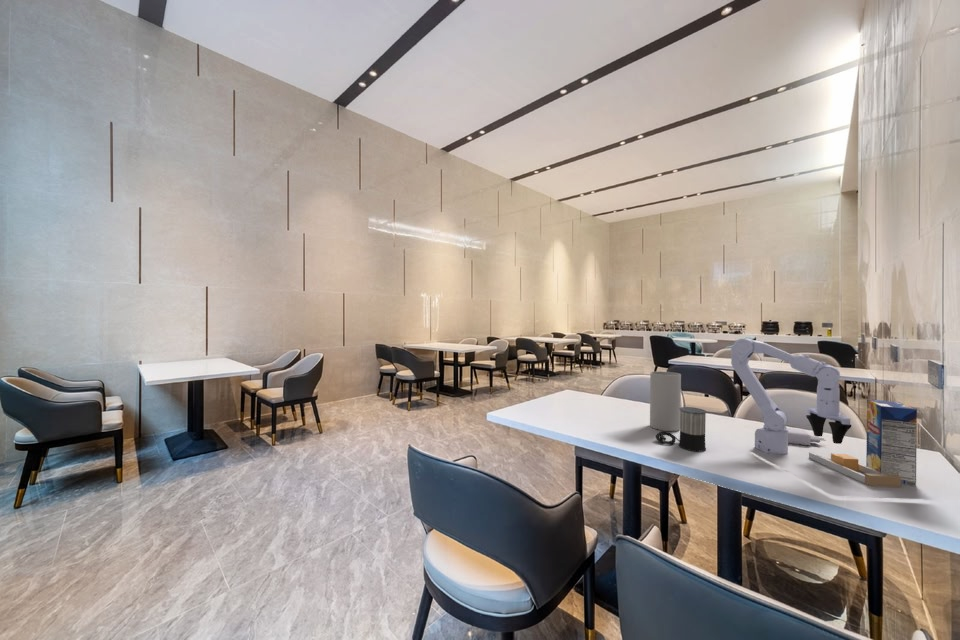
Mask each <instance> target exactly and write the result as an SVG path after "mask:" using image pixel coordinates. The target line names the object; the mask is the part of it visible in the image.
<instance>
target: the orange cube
mask: <svg viewBox="0 0 960 640" xmlns="http://www.w3.org/2000/svg"><path fill="white" fill-rule="evenodd" d="M830 459H831V461H833V462H835V463H837V464H840V465H842V466H844V467H846V468H849V469H851V470H853V471H856V472H858V463H859V458H856V457H854V456H851V455H848V454H846V453H835V454H831V453H830Z"/></svg>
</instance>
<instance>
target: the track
mask: <svg viewBox="0 0 960 640" xmlns="http://www.w3.org/2000/svg"><path fill="white" fill-rule="evenodd" d="M831 454H836V453H835V452H831V453H830V455H831ZM808 459H810V460H813V461H815V462H817V463H819V464H821V465H822V466H823V465H824V466H825V467H828V468H829V469H832V470H834V471H837V472H838V473H841V474H842V475H845V476H846V477H850V478H851V479H854V480H855V481H858V482H860V483H862V484H864V485H867V486H869V487H887V488H890V487H891V488H901V483H900V479H901V477H900V476H897V475H892V474H882V473H879V472H878V471H876V470H874V469H871V468H869V467H866V465H864V464H861V463H859V462H858V472H856V471H853V470H851V469H849V468H846V467H844V466H842V465H840V464H837V463H835V462H833V461H831V458H829V457H827V458H826V457H823V456H822V455H819V454H816V453H814V452H812V451H811V452H810V451H809V452H808Z"/></svg>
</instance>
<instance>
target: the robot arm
mask: <svg viewBox="0 0 960 640" xmlns="http://www.w3.org/2000/svg"><path fill="white" fill-rule="evenodd" d="M730 350H731V351H730V352H731V357H730V358H731V359H730V360H731V361H730V362H731V363H730V364H731V366H732V368H733V370H734V371H735V373H736V374H737V376H738V377H739V379H740V380H741V382H742V383H743V385H744V387H745V388H746V390H747V391H748V392H749V394H750V396H751V397H752V399H753V400H754V402H755V404H757V407H758V410H759V413H760V415H761V416H762V421H763V427H762V428H757V429H756V430H755V431H754V448H756V449H757V450H759V451H762V452H763V453H766V454H767V453H768V454H780V455H783V454H784V455H786V454H788V453H789V452H788V451H789V443H788V429H787V428H788V427H787V426H786V424H788V422H789V416H788V415H787V413H786V412H785V411H783V410H782V409H780V408H779V406H778V404H776V403H775V402H774V401H773V400H772V399H771V397H770V395H769V393H768V392H767V391H766V389H765V388H764V386H763V384H762V383H761V381H759V379H758V378H757V376H756V374H755V373H754V372H753V370H752V368H751V366H750V365H749V361H750V359H751V356H752V355H753V354H754V355H755V354H757V355H758V354H765V355H768V356H770V357H773V358H776V359H778V360H781V361H783V362H786V363H789V364H790V367H791V369H793V370H795V371H799V373H803V374H805V375H808V376H810V377H812V378H813V377H816V379H817V387H816V408H814V407H808V408H807V415H806V416H805V417H806V418H807V420H808V422H809V424H810V426H811V429H812V433H813V435H814V436H818V437H823V434H824V426H825V423H826V420H827V419H828V420H831V421H828V425H829V426H830V430H831V435H832V437H831V439H832V442H833V444H840V445H842V442H843V441H844V438H845V435H846V434H847V432H848V431H849V430H850V429H851V428H852V424H851V418H849V417H847V416H844V415H843V413H840V399H841V398H840V397H841V396H840V395H841V394H840V393H841V391H840V390H841V389H840V382H839V380H840V379H841V373H840V370H839V369H838V368H837V367H835V366H833V365H832V364H827V362H825V361H819V360H817V359H813V358H811V357H810V355H808V354H801V353H800V354H799V353H798V354H796V355H794V354H792V353H789V352H787V351H785V350H782V349H780V348H777V347H775V346H773V345H770V344H768V343H766V342H763V341H760V340H757V339H756V340H754V339H752V338H749V337H744V338H739V339H736V340H735V341H734V343H733V345H732V346H731V347H730Z"/></svg>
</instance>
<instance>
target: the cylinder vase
mask: <svg viewBox="0 0 960 640" xmlns="http://www.w3.org/2000/svg"><path fill="white" fill-rule="evenodd" d="M649 378H650V380H649V382H650V385H649V386H650V388H649V393H650V394H649V397H650V398H649V426H650V428H652V429H654V430H657V429H658V431H666V432H678V431H680V409H679V408H681V407H682V406H681V404H682V403H681V402H682V401H681V400H682V397H681V396H682V387H681V386H682V380H681V379H682V374H681V373H678V372H671V371H651V372H650V377H649Z"/></svg>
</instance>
